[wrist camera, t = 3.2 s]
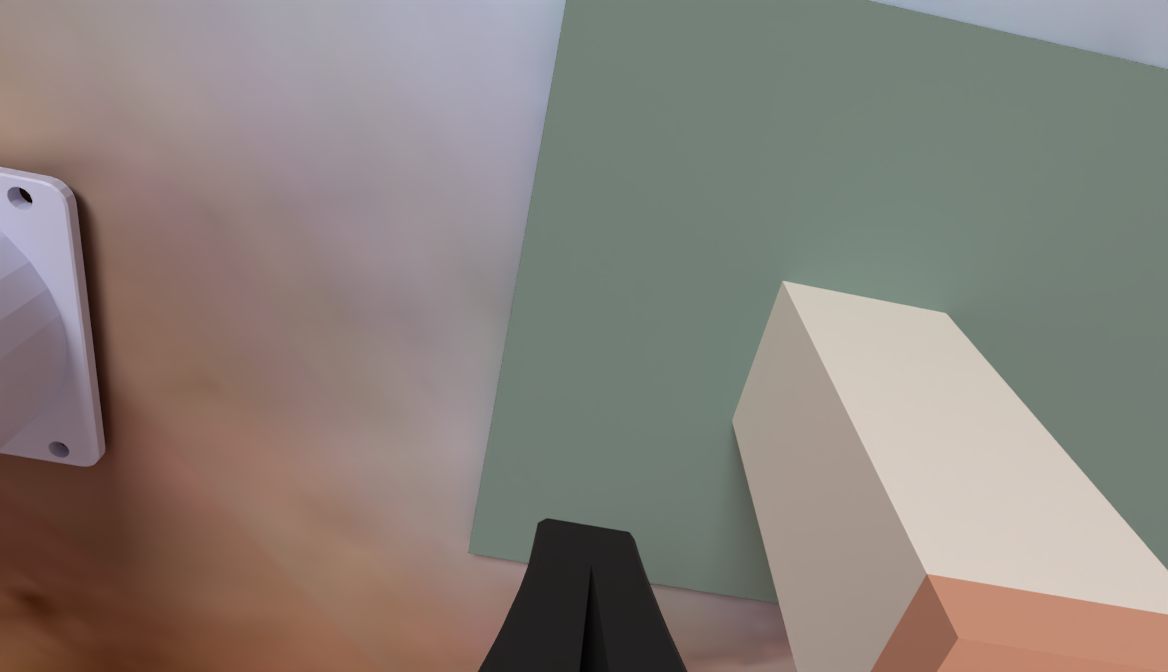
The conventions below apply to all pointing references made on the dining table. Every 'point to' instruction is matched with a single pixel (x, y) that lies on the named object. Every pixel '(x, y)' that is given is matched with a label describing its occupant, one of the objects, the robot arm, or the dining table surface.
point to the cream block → (929, 506)
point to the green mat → (817, 253)
